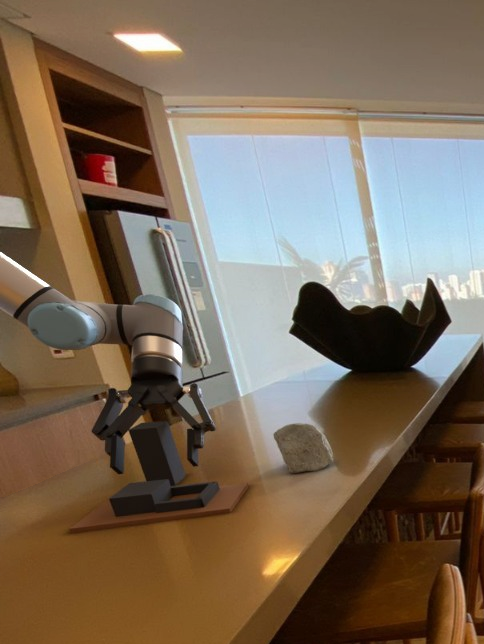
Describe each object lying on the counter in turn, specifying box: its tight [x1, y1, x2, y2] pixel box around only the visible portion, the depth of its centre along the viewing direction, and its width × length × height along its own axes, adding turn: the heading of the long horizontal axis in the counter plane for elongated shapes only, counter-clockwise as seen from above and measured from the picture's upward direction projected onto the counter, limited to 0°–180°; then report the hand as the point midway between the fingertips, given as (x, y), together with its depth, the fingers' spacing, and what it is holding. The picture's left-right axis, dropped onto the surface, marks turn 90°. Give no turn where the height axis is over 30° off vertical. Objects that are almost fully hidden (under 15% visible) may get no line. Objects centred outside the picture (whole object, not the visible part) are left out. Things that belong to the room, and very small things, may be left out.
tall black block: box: [127, 420, 187, 487], centre depth 103 cm, size 4×6×11 cm, turn 23°
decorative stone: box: [272, 422, 334, 474], centre depth 112 cm, size 13×11×10 cm
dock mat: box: [68, 479, 250, 534], centre depth 92 cm, size 20×14×4 cm
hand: (155, 466), depth 101 cm, fingers open, 10 cm apart
